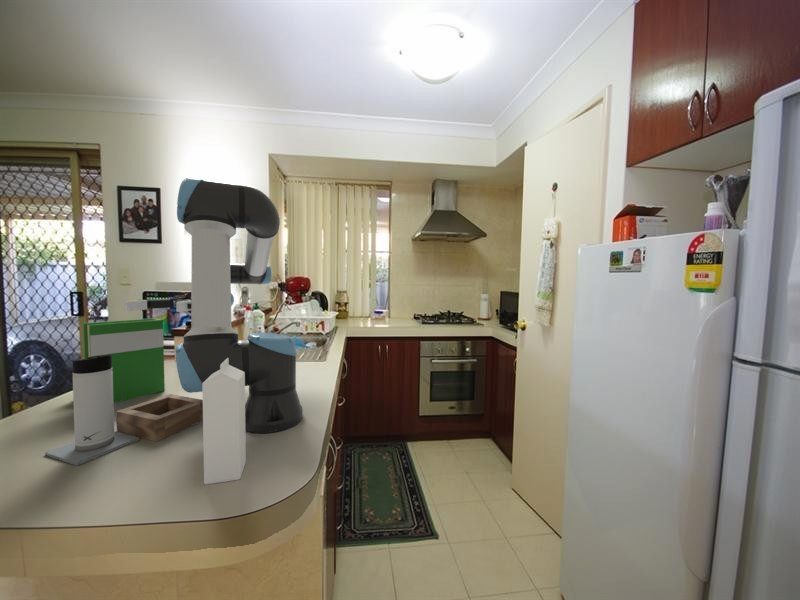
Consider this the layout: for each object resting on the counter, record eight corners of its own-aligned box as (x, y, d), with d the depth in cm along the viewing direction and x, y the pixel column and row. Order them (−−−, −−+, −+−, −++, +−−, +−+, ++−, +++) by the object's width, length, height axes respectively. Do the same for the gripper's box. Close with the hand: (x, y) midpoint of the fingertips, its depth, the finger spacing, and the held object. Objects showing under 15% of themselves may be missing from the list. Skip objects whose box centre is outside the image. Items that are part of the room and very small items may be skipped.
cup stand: (207, 418, 85) (207, 400, 84) (156, 441, 72) (155, 420, 72) (170, 411, 89) (170, 393, 89) (116, 431, 77) (116, 411, 77)
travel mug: (91, 453, 66) (88, 359, 65) (67, 449, 67) (63, 357, 66) (122, 439, 72) (120, 352, 71) (100, 436, 73) (97, 351, 72)
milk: (204, 485, 57) (200, 366, 56) (213, 466, 63) (210, 358, 62) (240, 479, 59) (238, 363, 58) (246, 461, 65) (244, 356, 63)
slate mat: (138, 440, 73) (138, 437, 73) (76, 465, 63) (76, 462, 63) (107, 432, 77) (107, 429, 76) (45, 455, 66) (44, 452, 66)
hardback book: (92, 407, 91) (89, 325, 90) (86, 401, 95) (83, 323, 94) (164, 390, 106) (162, 319, 104) (156, 386, 110) (154, 318, 109)
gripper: (238, 313, 106) (199, 321, 85) (163, 312, 106) (105, 320, 85) (238, 291, 106) (198, 293, 85) (163, 290, 105) (104, 292, 84)
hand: (152, 306), depth 85 cm, fingers open, 13 cm apart
